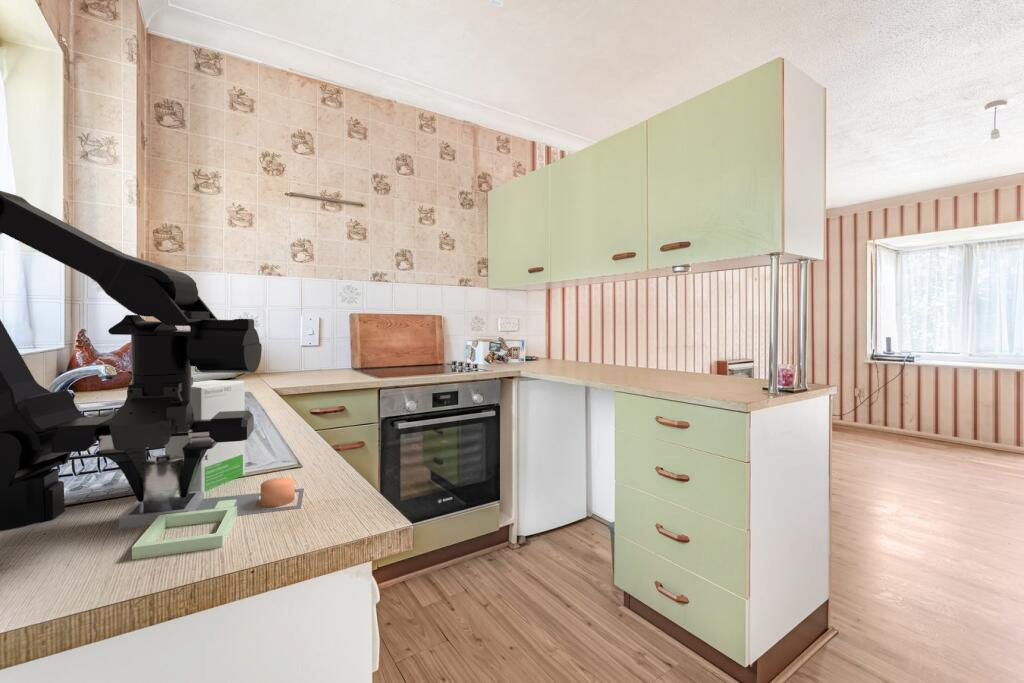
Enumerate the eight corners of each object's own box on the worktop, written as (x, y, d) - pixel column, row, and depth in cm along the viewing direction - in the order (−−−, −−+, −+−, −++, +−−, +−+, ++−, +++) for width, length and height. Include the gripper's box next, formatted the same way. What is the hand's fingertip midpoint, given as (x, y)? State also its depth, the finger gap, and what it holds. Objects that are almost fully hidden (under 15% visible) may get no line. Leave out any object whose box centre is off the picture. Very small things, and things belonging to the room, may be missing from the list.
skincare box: (200, 500, 62) (199, 388, 61) (160, 495, 63) (159, 385, 62) (247, 479, 70) (247, 380, 69) (211, 475, 71) (211, 377, 70)
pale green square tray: (132, 568, 45) (131, 547, 45) (159, 533, 52) (159, 515, 52) (222, 555, 48) (222, 535, 48) (237, 523, 55) (237, 506, 55)
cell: (137, 522, 53) (136, 462, 53) (150, 508, 57) (149, 452, 56) (178, 517, 54) (177, 459, 54) (188, 504, 58) (187, 450, 58)
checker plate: (116, 538, 51) (115, 519, 51) (140, 512, 58) (140, 496, 57) (300, 515, 58) (300, 498, 58) (304, 495, 65) (304, 480, 64)
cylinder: (258, 509, 58) (258, 490, 57) (263, 497, 61) (263, 479, 61) (293, 505, 59) (293, 486, 59) (295, 493, 63) (295, 476, 63)
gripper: (16, 384, 44) (21, 541, 45) (238, 380, 51) (238, 515, 51) (76, 370, 54) (79, 498, 55) (254, 368, 61) (254, 481, 62)
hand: (164, 498), depth 55 cm, fingers closed on cell, 4 cm apart
